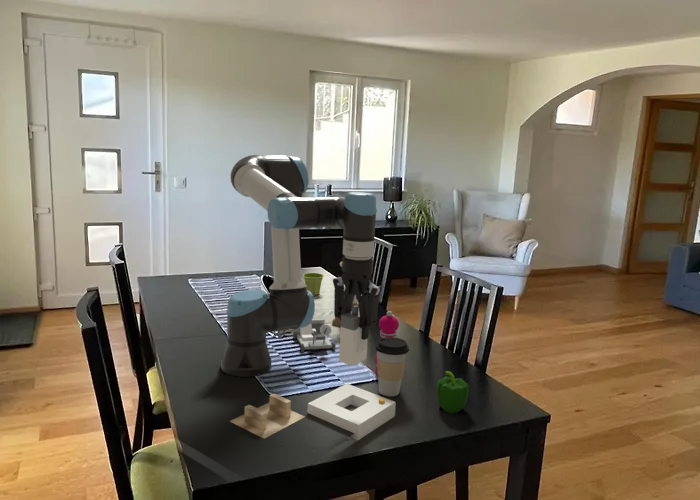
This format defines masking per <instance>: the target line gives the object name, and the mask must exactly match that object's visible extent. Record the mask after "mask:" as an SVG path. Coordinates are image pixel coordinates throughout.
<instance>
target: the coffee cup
mask: <svg viewBox="0 0 700 500" xmlns="http://www.w3.org/2000/svg"><path fill="white" fill-rule="evenodd" d="M375 350H376V353H377V364H376V366H377V373H378V375H377V379H378V380H377V381H378V382H377V383H378V393H379V394H381V395H382V396H386V397H395V396H398V395H399V393H400V391H401V390H400V389H401V385H402V379H403V376H404V372H405V365H406V356H407V353H409V352H410V347H409V345H408V343H407V341H406V340H404V339H402V338H400V337H385V338H381V337H380V338H379V340H378V341H377V343H375Z"/></svg>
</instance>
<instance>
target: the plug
mask: <svg viewBox="0 0 700 500" xmlns="http://www.w3.org/2000/svg"><path fill="white" fill-rule="evenodd" d="M360 325H361V323H360V315H359V306H352V312H349V313H346V314H343V315H341V326H340V329H341V331H340V333H339V353H338V354H339V355H338V356H339V357H338V358H339V359H338V360H339V361H338V362H340V363H343V364H346V365H348V366H352V367H353V366H354V365H357V364H359V363H361V362H364V361H366V360H367V355H368V354H367V353H368V339H366V350H364V351H362V352H360V353H358V352H357V336H358V326H360Z"/></svg>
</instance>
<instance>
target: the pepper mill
mask: <svg viewBox="0 0 700 500" xmlns="http://www.w3.org/2000/svg"><path fill="white" fill-rule="evenodd" d="M399 327H400V323H399V319H398V318H397V317H396V316H394V315H393V311H391V310H388V311H387V312H386V315H383V316H382V317H381V318H380V319H379V321H378V328H379V329H380V330H379V333H380V334H379V336H380V339H381V338H385V337H395V338H397V333H398V332H397V330H398V329H399ZM374 363H375V365H376V366H375V374H376V375H377V376H378V373H377V352H376V354H375V356H374Z"/></svg>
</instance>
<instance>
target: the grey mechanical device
mask: <svg viewBox="0 0 700 500" xmlns="http://www.w3.org/2000/svg"><path fill="white" fill-rule="evenodd" d="M332 331H333V330H332V327H331V326H330V325H328V324H325V319H324V318H313V319H312V321H311V322H310V324H309V325H308V326H306V327H302V328H298V329H295V331H293V334H292V335H293V339H294V340H297V341H298V343H299V344H300V345H299V348H300V350H301V351H300V350H299V351H300V352H301V353H304V352H305V350H321V349H331V348H332V349H333V350H332V349H331V350H332V351H336V348H337V347H336V342H335V341H330V340H329V338H328V336H330V335H331V334H332V333H333V332H332Z"/></svg>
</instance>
